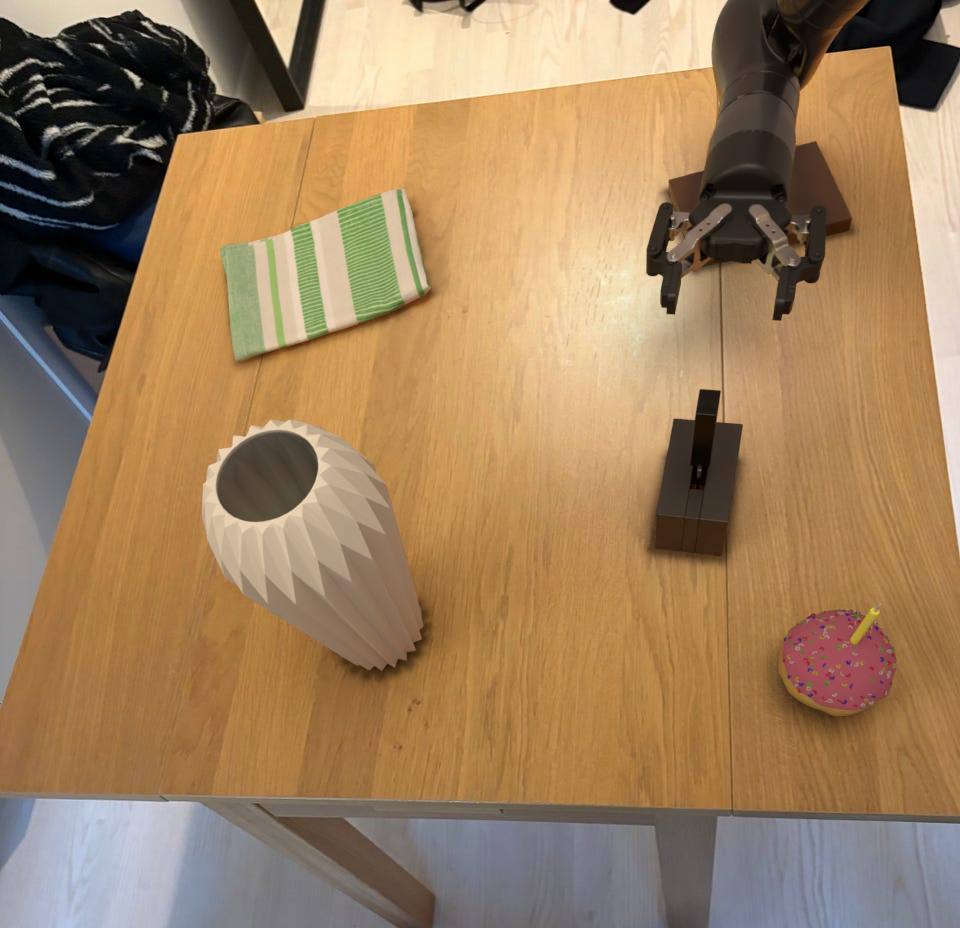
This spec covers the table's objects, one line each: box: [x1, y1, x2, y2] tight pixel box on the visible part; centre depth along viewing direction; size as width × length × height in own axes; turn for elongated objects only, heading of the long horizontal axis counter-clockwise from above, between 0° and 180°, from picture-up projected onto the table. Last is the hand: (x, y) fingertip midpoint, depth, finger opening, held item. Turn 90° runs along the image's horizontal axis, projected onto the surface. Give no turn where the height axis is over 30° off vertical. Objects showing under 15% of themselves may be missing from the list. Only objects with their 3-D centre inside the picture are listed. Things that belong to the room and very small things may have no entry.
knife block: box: [654, 418, 744, 556], centre depth 74 cm, size 6×10×6 cm, turn 167°
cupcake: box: [777, 602, 899, 717], centre depth 63 cm, size 9×8×12 cm
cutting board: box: [667, 140, 853, 268], centre depth 88 cm, size 16×12×2 cm
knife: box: [690, 388, 722, 490], centre depth 69 cm, size 2×3×15 cm, turn 167°
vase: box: [201, 418, 425, 672], centre depth 65 cm, size 13×13×26 cm
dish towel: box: [220, 188, 432, 362], centre depth 95 cm, size 18×23×3 cm
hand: (724, 310), depth 67 cm, fingers open, 8 cm apart
